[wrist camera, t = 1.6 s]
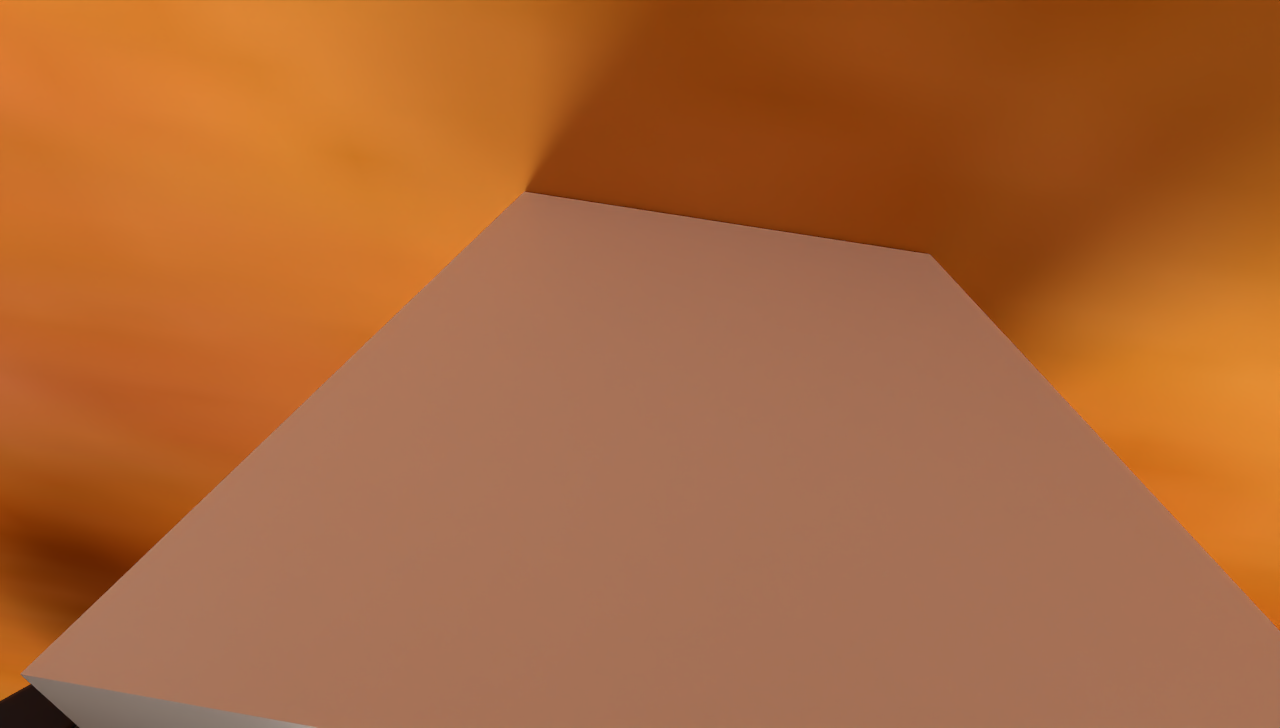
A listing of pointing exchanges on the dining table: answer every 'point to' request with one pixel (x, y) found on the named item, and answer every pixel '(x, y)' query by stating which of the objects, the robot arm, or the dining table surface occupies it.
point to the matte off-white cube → (675, 517)
